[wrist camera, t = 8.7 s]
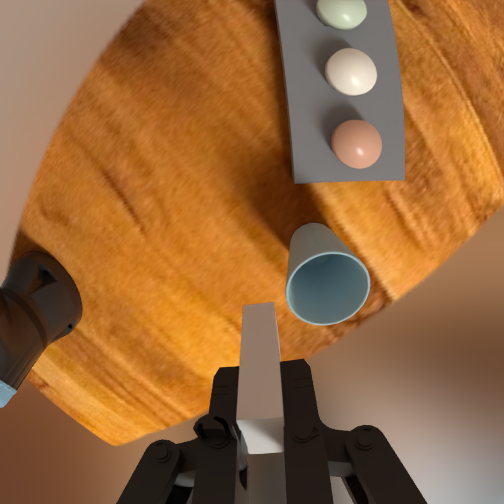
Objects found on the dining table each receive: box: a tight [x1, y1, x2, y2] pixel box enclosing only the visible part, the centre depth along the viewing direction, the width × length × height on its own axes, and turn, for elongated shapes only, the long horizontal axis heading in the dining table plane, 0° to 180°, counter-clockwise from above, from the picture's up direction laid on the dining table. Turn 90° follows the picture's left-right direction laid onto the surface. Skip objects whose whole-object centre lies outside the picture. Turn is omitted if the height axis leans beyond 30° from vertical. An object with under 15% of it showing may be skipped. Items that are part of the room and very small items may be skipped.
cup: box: [285, 223, 370, 325], centre depth 30 cm, size 8×8×10 cm
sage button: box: [316, 0, 367, 31], centre depth 20 cm, size 5×5×4 cm
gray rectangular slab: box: [273, 0, 405, 184], centre depth 25 cm, size 12×22×3 cm, turn 6°
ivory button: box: [325, 48, 377, 96], centre depth 23 cm, size 5×5×4 cm
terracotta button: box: [331, 120, 382, 169], centre depth 26 cm, size 5×5×4 cm
